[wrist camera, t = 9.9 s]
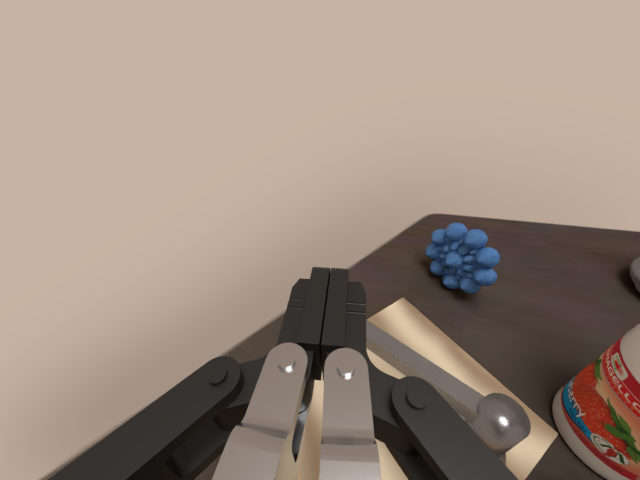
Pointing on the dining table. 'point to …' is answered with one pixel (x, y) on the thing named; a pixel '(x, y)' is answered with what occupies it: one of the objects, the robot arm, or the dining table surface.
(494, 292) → the dining table surface
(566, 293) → the dining table surface
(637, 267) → the coffee pot
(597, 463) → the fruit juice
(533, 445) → the stand
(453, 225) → the grapes
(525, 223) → the dining table surface
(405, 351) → the metal faucet
